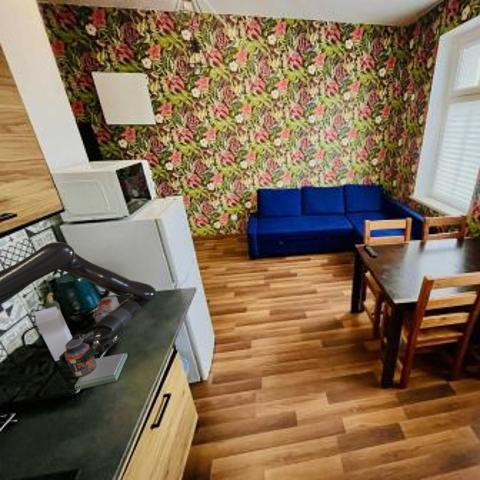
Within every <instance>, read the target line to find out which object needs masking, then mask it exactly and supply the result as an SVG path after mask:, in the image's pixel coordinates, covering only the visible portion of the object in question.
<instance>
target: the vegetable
mask: <svg viewBox="0 0 480 480" xmlns="http://www.w3.org/2000/svg"><path fill="white" fill-rule="evenodd" d="M53 295H54V293H53V292H49V293H48V294H47V296H46V299H45V300H46V303H45V305H44V309H48V308H52V307H56V308H57V310H60V311H61V306H60V303H59V302H58V301H57V300H54V298H53ZM66 325H67V327H68V324H67V323H66ZM68 328H69V327H68Z"/></svg>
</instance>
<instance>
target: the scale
mask: <svg viewBox="0 0 480 480" xmlns="http://www.w3.org/2000/svg"><path fill="white" fill-rule="evenodd" d="M128 357H129V356H128V353H127V352H122V353H117V354H111V355H108V356H103V357H97V358H95V360H96V363H97V367H96V369H95V370H94V371H93V372H92V373H90V374H88V375H86V376H84V377H78V380H77V381H76V383H75V385H74V389H75V391H79V390H82V389H88V388H91V387H96V386H100V385H105V384H109V383H113V382H117V381H118V379H119V377H120V375H121V372H122V370H123V367H124V365H125V363H126V361H127V359H128ZM79 386H81V387H79ZM76 387H77V388H76Z"/></svg>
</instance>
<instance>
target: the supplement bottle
mask: <svg viewBox="0 0 480 480" xmlns="http://www.w3.org/2000/svg"><path fill="white" fill-rule="evenodd" d="M89 349H91V346H89V345H88V344H86V343H84V341H82V340H81V339H77V340H73V341H71V342H69V343H68V344H67V345H66V350H67V351H66V352H65V358H66V361H65V362H67V364H68V366H69V369H70V371H71V374H72V375H73V377H75V378H80V377H84V376H86V375H88V374H90V373H92V372H93V371H94V370H95V369H96V367H97V363H96V360H95V359H96V358H95V355H94V356H93V357H91V358H90V360H88V361H87V362H86V363H81V361H80V358H81V357H82V356H83V355H84V354H85V353H86V352H87V351H88V350H89Z"/></svg>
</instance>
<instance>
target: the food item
mask: <svg viewBox="0 0 480 480" xmlns="http://www.w3.org/2000/svg"><path fill="white" fill-rule="evenodd" d="M120 304H121V303H119V300H118V298H117V296H114V295H110V296H105V297H102V298H101V299H100V301H97V305H98V307H95V308H94V311H93V318H94V322H95V324H96V323H97V322H98V321H100V320H101V319H102V318H103V317H104V316H106V315H107V314H108V313H109V312H111V311H112V310H114V309H115V308H116V307H118V306H119V305H120Z"/></svg>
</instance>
